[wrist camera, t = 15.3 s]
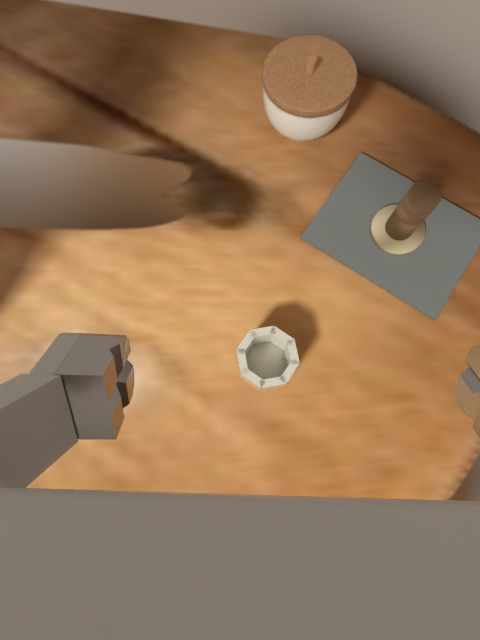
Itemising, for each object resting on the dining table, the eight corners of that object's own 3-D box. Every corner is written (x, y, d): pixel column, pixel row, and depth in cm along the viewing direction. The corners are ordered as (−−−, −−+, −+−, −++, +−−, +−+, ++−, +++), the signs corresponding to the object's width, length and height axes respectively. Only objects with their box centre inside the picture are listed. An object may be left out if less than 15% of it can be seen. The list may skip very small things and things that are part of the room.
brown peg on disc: (360, 237, 47) (382, 202, 39) (386, 199, 48) (412, 157, 41) (406, 264, 46) (438, 234, 38) (431, 225, 47) (467, 187, 40)
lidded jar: (248, 101, 53) (249, 34, 44) (323, 79, 54) (339, 9, 44) (276, 167, 50) (283, 111, 41) (354, 143, 51) (378, 83, 42)
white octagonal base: (227, 369, 44) (226, 363, 39) (258, 326, 45) (259, 316, 41) (272, 401, 43) (276, 398, 39) (302, 356, 44) (309, 348, 40)
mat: (300, 237, 48) (301, 235, 47) (359, 155, 50) (361, 152, 50) (433, 320, 45) (436, 318, 44) (488, 228, 48) (491, 225, 47)
